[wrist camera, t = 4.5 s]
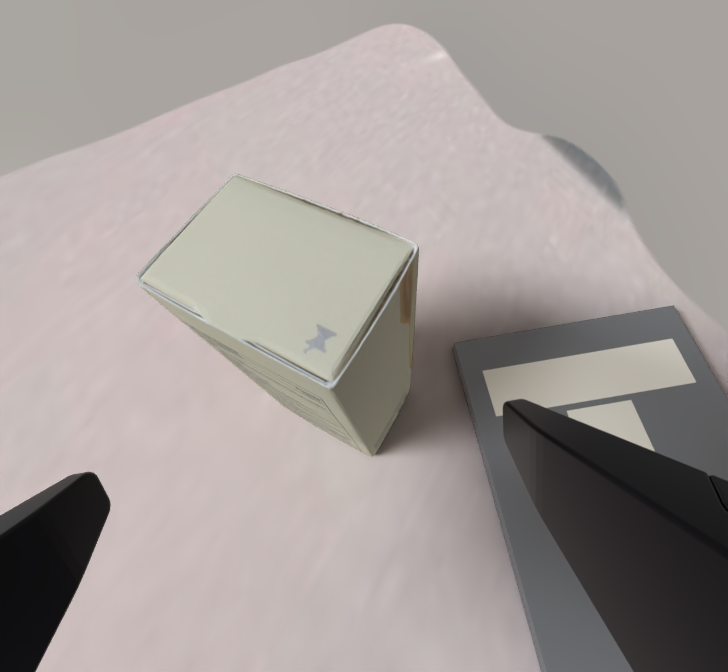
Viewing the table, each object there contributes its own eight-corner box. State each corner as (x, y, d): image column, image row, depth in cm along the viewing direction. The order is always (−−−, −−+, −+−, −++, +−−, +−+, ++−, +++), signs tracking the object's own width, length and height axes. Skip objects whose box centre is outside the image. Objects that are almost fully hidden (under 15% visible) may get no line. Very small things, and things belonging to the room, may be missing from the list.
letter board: (849, 645, 15) (874, 652, 14) (548, 696, 15) (556, 707, 14) (664, 312, 21) (673, 305, 20) (452, 348, 21) (454, 342, 20)
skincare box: (412, 387, 20) (438, 245, 9) (373, 460, 19) (344, 401, 7) (314, 336, 22) (231, 161, 11) (271, 399, 20) (123, 276, 9)
